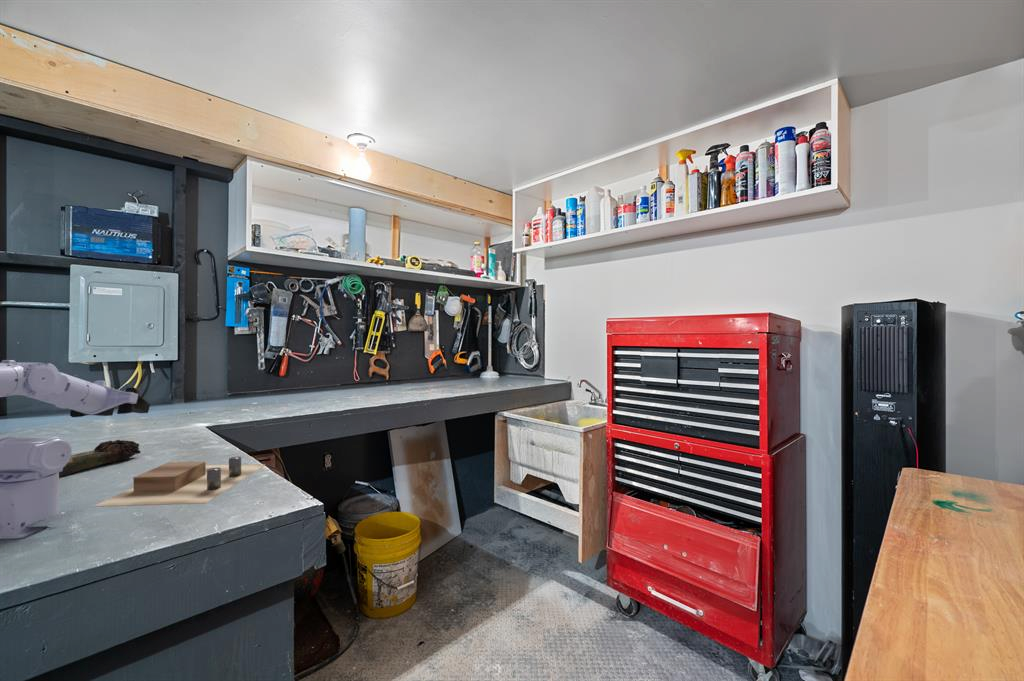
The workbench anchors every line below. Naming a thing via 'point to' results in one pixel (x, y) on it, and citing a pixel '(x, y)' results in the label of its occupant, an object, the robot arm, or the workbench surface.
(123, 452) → the mossy wood log
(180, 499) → the bench board
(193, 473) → the walnut plate
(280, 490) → the workbench surface
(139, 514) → the workbench surface
